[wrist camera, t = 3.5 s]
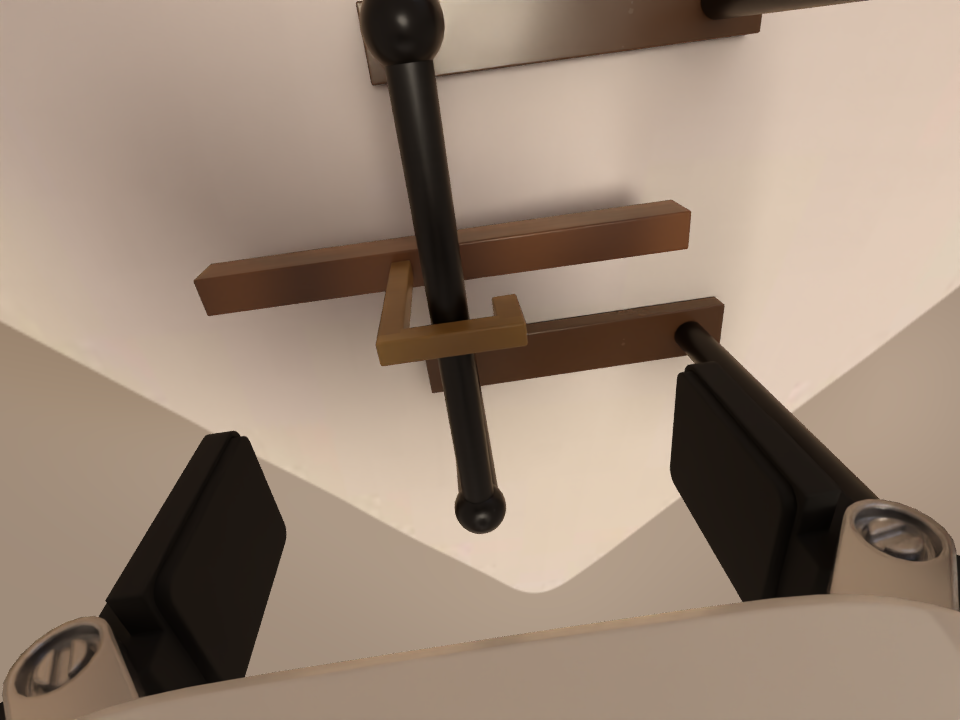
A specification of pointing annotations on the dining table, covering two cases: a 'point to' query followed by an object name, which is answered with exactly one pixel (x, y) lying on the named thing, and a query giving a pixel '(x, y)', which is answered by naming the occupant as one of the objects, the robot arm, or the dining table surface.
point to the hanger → (481, 256)
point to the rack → (414, 98)
